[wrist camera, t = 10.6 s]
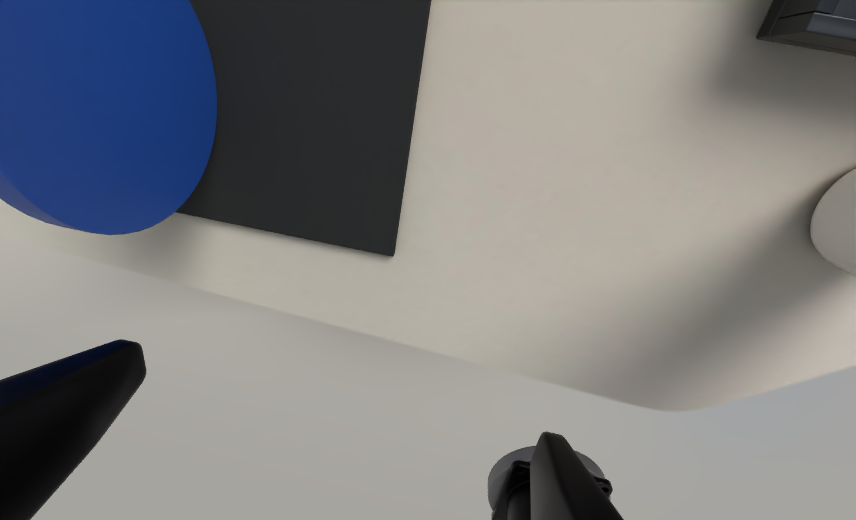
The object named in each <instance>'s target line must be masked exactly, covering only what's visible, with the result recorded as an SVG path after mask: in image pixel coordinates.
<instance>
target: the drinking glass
mask: <svg viewBox="0 0 856 520" xmlns="http://www.w3.org/2000/svg"><path fill="white" fill-rule="evenodd" d="M810 233H811V238H812V242H813V244H814V246H815V248H816V250H817V251H818V252H819V253H820V255H822V256H823V257H824V258H825V259H826V260H827V261H829V262H830V263H832V264H834V265H835V266H837V267H839V268H841V269H843V270H845V271H847V272H848V273H850V274H852V275H854V276H856V168H855V169H853V170H851V171H850V172H848V173H847V174H845V175H844V176H843V177H841V178H840V179H839V180H838V181H836V182H835V183H834V184H833V185H832V186H831V187H830V188H829V189H828V190H827V191H826V193H825V194H824V195H823V196H822V198H821V199H820V201H819V202H818V204H817V206H816V208H815V210H814V213H813V215H812V219H811V225H810Z"/></svg>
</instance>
